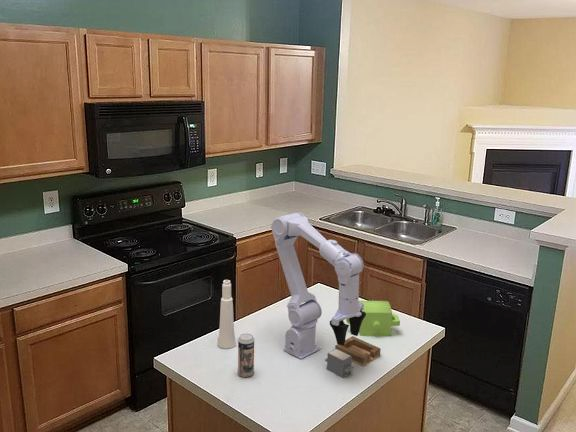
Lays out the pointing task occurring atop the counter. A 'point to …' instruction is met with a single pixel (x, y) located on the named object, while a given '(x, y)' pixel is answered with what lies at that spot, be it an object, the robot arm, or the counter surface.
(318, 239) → the robot arm
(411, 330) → the counter surface
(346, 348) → the pocket block
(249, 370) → the beer can
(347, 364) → the block
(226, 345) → the cosmetic bottle
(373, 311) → the gearbox
